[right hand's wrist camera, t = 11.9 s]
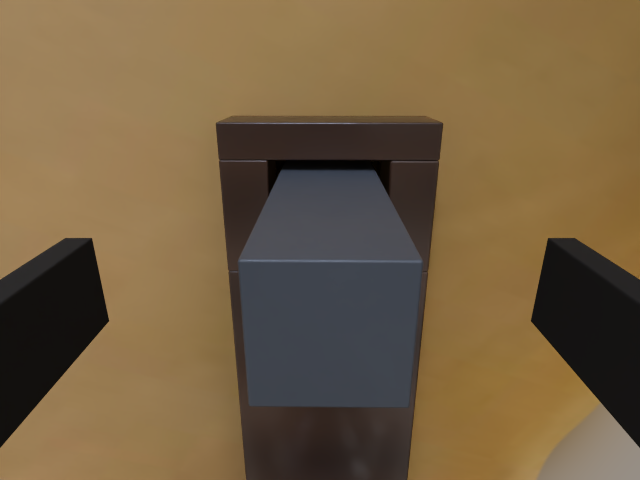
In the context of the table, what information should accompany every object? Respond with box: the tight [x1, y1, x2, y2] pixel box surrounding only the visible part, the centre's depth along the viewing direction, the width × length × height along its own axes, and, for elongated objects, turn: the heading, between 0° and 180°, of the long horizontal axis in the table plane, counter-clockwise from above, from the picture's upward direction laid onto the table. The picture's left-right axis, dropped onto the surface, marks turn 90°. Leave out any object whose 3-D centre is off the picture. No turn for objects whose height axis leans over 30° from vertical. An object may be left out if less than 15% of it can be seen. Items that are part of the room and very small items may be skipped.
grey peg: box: [238, 160, 423, 408], centre depth 15 cm, size 4×4×12 cm
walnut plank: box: [216, 116, 443, 480], centre depth 20 cm, size 31×9×10 cm, turn 0°
